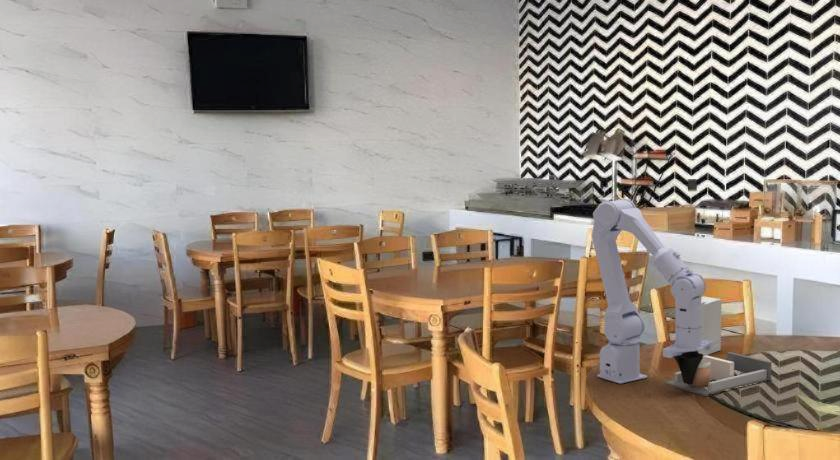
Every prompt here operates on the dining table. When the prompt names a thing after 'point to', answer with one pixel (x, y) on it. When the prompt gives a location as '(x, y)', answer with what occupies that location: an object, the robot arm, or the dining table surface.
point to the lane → (750, 374)
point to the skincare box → (711, 323)
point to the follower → (720, 368)
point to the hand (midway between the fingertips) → (688, 383)
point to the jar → (702, 374)
